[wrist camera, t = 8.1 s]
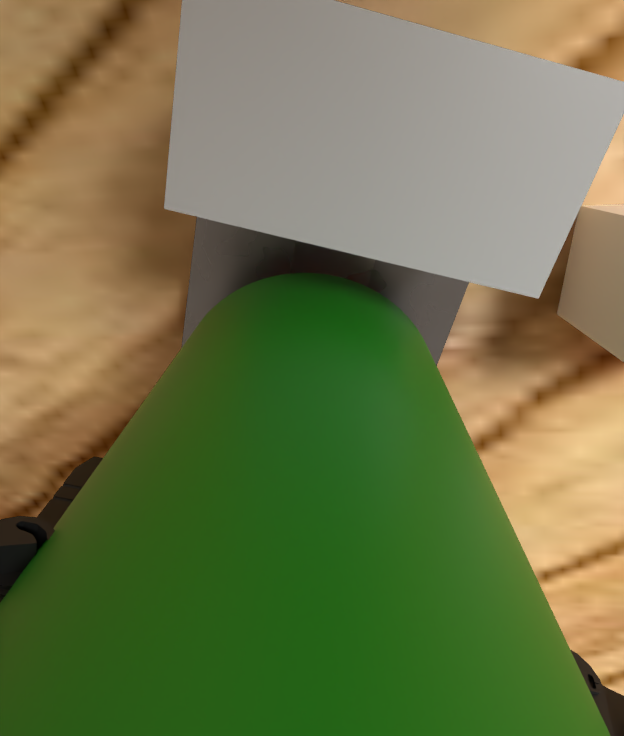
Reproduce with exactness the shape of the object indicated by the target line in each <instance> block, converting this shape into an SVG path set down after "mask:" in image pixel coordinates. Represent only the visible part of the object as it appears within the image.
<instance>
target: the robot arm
mask: <svg viewBox="0 0 624 736" xmlns="http://www.w3.org/2000/svg"><path fill="white" fill-rule="evenodd" d="M102 459H103V458H100V457H93V458H91V459H89V460H88V461H86V462H84V463H83V464H81V465H79V466H78V467H76V468H75V469H74V470H73V472H72V473H71V474H70V476H69V477H68V478H67V479H66V481H65V482H64V484H63V486H61V487H60V488H59V490H58V491H57V492H56V494H55V495H54V497H53V499H51V500H50V501H49V503H48V504H47V505H46V506H45V508H44V509H43V510H42V512H41V513H40V514H39V515H38V517H37V518H36V517H26V516H17V517H12V518H6V519H1V520H0V602H1V601H2V600H3V598H4V597H5V595H6V594H7V593H8V591H9V590H10V588H11V587H12V586H13V584H14V583H15V582H16V580H17V579H18V577H19V576H20V574H21V573H22V572H23V570H24V569H25V568H26V566H27V565H28V563H29V562H30V561H31V560H32V559H33V557H34V556H35V555H36V554H37V551H38V549H39V548H40V546H41V545H42V544H43V543H44V542H45V541H46V540H47V541H48V540H49V539H50V537H51V536H52V534H53V533H54V532H55V530H54V529H53V528H54V527H55V525H56V524H57V522H58V521H59V520H60V518H61V517H62V515H63V514H64V513H65V511H66V510H67V508H68V507H69V506H70V504H71V503H72V501H73V500H74V499H75V497H76V496H77V494H78V493H79V491H80V490H81V489H82V487H83V486H84V484H85V483H86V482H87V480H88V479H89V477H90V476H91V475H92V473H93V472H94V470H95V469H96V468H97V466H98V465H99V463H100V462H101V461H102ZM571 653H572V655H573V657H574V659H575V661H576V663H577V665H578V667H579V669H580V672H581V674H582V676H583V678H584V680H585V682H586V684H587V686H588V689H589V691H590V693H591V695H592V697H593V699H594V701H595V703H596V706H597V708H598V710H599V712H600V714H601V716H602V718H603V720H604V723H605V725H606V727H607V729H608V731H609V733H610V735H611V736H624V696H623V695H621V694H618V693H616V692H614V691H612V690H610V689H608V688H606V687H605V686H603V685H602V684H601V682H600V679H599V678H598V676H597V675H596V674H595V672H594V671H593V669H592V668H591V666H590V665H589V664H588V663H586V662H585V661H584V660H583V659H582V658H581V657H580V656H579V655H578V654H577V653H575V652H573V651H572V650H571Z"/></svg>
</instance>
